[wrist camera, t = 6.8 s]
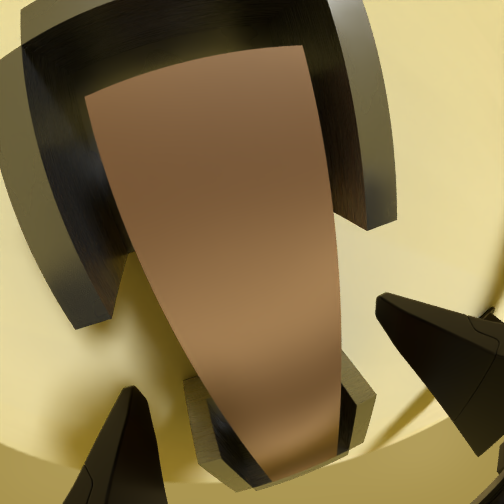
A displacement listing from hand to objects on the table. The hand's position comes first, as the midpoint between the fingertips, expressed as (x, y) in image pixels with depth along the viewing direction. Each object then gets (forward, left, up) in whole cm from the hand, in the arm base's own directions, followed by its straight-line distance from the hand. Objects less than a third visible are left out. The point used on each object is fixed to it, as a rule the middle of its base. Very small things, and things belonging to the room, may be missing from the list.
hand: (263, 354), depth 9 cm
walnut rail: (0, 0, -2) cm, 2 cm away
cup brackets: (0, 0, -4) cm, 4 cm away
